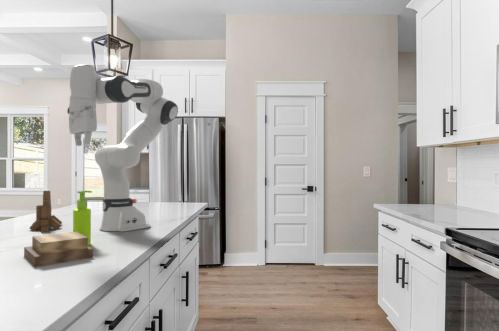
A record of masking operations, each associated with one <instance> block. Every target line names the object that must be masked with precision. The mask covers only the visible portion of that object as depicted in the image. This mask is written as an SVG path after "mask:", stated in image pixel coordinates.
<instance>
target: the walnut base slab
mask: <svg viewBox="0 0 499 331" xmlns="http://www.w3.org/2000/svg"><path fill="white" fill-rule="evenodd" d="M93 251H94V249H93V247H91V246H90V245H88V248H87V249H80V250H73V251H66V252H59V253H52V254H45V255H40V254H39V253H38V252H37V251H36V250H35V249H34V248H33V247H32V245H31V246H24V248H23V257H24V258H26V260H27V261H28V262H29V263H30V264H31V265H32V266H33V267H34V268H37V267H44V266H49V265H54V264H55V265H56V264H59V263H66V262H72V261H79V260H84V259H90V258H91V259H92V258H93V257H94V252H93Z"/></svg>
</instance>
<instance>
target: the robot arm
mask: <svg viewBox="0 0 499 331" xmlns="http://www.w3.org/2000/svg"><path fill="white" fill-rule="evenodd" d="M69 89H70V96H69V104H68V105H69V106H68V108H67V109H66V110H67V115H68V127H69V133H70V134H71V135H74V136H73V137H74V140H75V146H77V147H81V146H83V145H87V146H88V145H90V144H91V139H92V135H93V134H92V133H94V132H96V131H97V129H98V128H97V127H98V121H97V105H98V104H99V105H103V104H115V103H116V104H117V103H123V104H124V103H127V102H128V101H131V102H133V103H135V106H136V109H137V110H138V111H139V112H141V113H143V114H146V116H145V117H144V119H142V120H140V121H139V122H138V123H136V124H135V125H134V126H132V127H131V128H130V129H129V130H128V131H127V132H125V134H124V138H123V140H122V141H121V142H120V143H118V144H111V145H104V146H101V147H100V148H98V149H97V150H96V152H95V154H94V160H95V162H96V164H97V165H98V166H99V169H100V172H101V175H102V180H103V198H102V211H103V212H102V213H103V214H102V220H101V223H100V227H99V230H100V231H103V232H128V231H134V230H141V229H146V228H147V229H148V228H151V224H150V223H148V222H147V219H146V215H145V213H144V212H142V211H141V210H140V209H138V208H137V207H136V206H134V204H136V203H137V202H138V200H137V198H131V197H130V181H129V179H128V178H127V176H126V174H125V172H124V169H125V170H126V169H130V168H133V167H135V166H137V165H138V164H139V163H140V160H141V153H142V152H143V150H144V149H145V148H146V147H148V145H150V144H151V143H152V141H154V140H155V138H157V136H158V135H159V134H160V132H161V131H162V129H163V125H164V126H165V125H168V124H169V123H172V122H173V121H174V120H175V119H176V118H177V115H178V114H179V113H178V112H179V110H178V109H179V108H178V105H177V103H175V102H174V101H172V100H170V99H167V98H166V97H164V96H163V94H164V88H163V86H162V84H160V83H159V82H158V81H155V80H153V79H147V78H137V79H133V80H130V79H128V78H126V77H125V76H122V75H117V76H111V77H101V76H100V74H98V73H97V71H96V69H95V66H94V65H91V64H78V65H73V67H72V69H71V70H70V77H69ZM83 134H84V138H83V141H82V135H83ZM82 143H83V144H82Z"/></svg>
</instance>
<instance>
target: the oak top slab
mask: <svg viewBox="0 0 499 331" xmlns="http://www.w3.org/2000/svg"><path fill="white" fill-rule="evenodd" d="M31 241H32V243H31V244H32V245H31V246H32V247H33V248H34V249H35V250H36V251H37V252H38V253H39V254H40V255H45V254H52V253H59V252H66V251H73V250H80V249H87V248H88V246H89V245H88V237H86V236H84V235H82V234H80V233H78V232H73V231H70V232H60V233H52V234H41V235H34V236H32V238H31Z"/></svg>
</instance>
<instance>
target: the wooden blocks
mask: <svg viewBox="0 0 499 331" xmlns="http://www.w3.org/2000/svg"><path fill="white" fill-rule="evenodd" d="M51 198H52V197H51V190H43V192H42V204H41V205H40V204H39V205H36V208H35V209H36V212H35V214H36V215H35V219H36V220H35V221H33V223H32V224H31V225H30V226H29V229H30V230H31V231H34V232H35V231H37V230H39V229H40V233H49V231H50V228H53V229H54V230H59V229H61V227H62V223H63V221H61V220H60V219H59V218H58V217H57V216H56V215H54V214H52V202H51V201H52V199H51Z"/></svg>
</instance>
